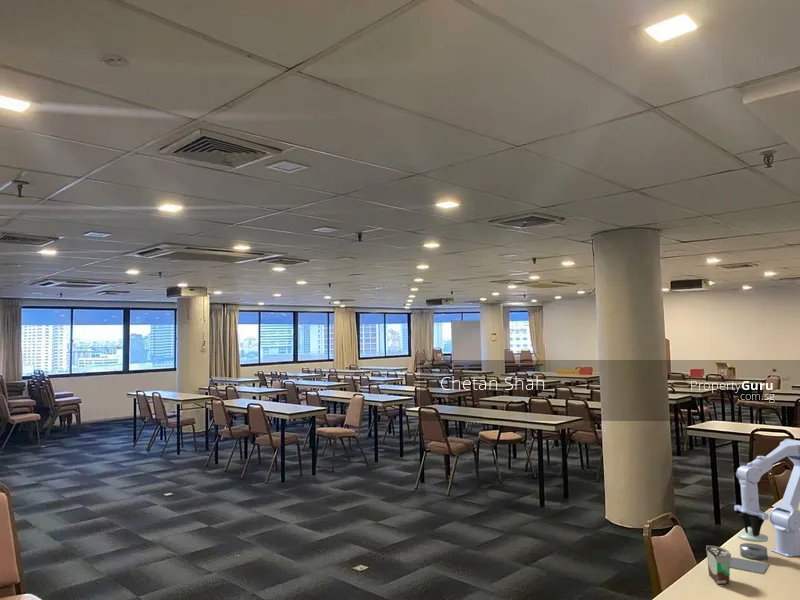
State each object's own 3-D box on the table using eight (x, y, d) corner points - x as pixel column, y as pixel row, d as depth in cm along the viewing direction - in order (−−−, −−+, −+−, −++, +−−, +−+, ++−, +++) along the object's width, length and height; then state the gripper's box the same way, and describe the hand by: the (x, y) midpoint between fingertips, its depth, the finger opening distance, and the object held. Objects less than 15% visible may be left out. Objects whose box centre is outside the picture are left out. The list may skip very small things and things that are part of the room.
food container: (739, 588, 196) (736, 557, 197) (718, 587, 197) (716, 556, 198) (726, 574, 208) (724, 545, 209) (707, 573, 209) (705, 544, 210)
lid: (753, 533, 233) (752, 522, 233) (774, 540, 223) (773, 529, 224) (731, 535, 231) (731, 524, 231) (752, 543, 221) (751, 532, 221)
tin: (754, 551, 232) (753, 542, 232) (773, 559, 223) (772, 549, 223) (735, 553, 230) (734, 544, 230) (753, 561, 221) (753, 551, 221)
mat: (732, 558, 225) (732, 557, 225) (769, 564, 217) (769, 563, 217) (725, 566, 216) (725, 566, 216) (763, 574, 208) (763, 573, 208)
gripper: (726, 494, 235) (729, 529, 233) (756, 503, 221) (759, 540, 219) (741, 493, 236) (744, 528, 235) (772, 501, 222) (774, 539, 221)
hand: (752, 534), depth 227 cm, fingers closed on lid, 3 cm apart
